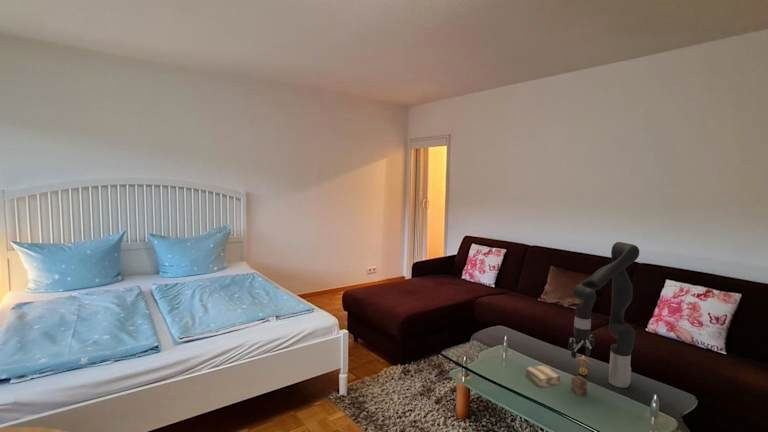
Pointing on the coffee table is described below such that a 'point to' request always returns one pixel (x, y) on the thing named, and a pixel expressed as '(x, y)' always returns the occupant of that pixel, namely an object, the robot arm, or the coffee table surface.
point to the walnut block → (579, 385)
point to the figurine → (583, 370)
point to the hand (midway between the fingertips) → (580, 356)
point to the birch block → (542, 376)
